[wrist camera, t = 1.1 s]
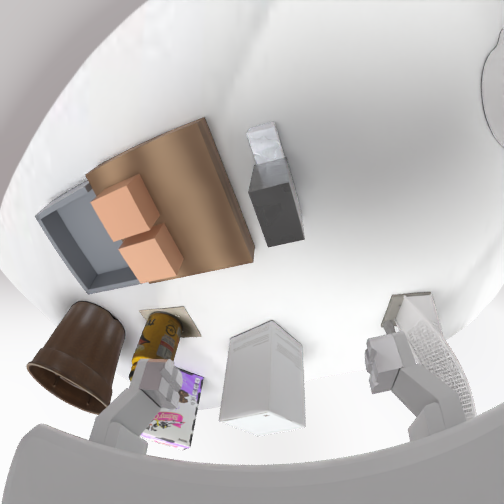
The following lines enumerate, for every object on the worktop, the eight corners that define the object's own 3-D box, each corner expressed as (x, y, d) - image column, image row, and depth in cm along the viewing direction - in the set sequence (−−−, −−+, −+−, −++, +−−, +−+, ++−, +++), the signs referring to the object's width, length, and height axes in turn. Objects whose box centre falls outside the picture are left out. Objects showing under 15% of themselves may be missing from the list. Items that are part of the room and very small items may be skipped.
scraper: (276, 120, 25) (277, 142, 18) (303, 215, 31) (311, 267, 24) (246, 128, 26) (234, 154, 18) (277, 221, 32) (277, 274, 24)
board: (204, 117, 25) (196, 122, 23) (254, 246, 34) (253, 262, 31) (98, 165, 28) (85, 174, 26) (156, 268, 37) (149, 283, 35)
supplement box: (228, 338, 45) (215, 421, 33) (272, 318, 41) (269, 411, 29) (261, 361, 49) (256, 437, 37) (304, 345, 45) (307, 428, 33)
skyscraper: (394, 287, 36) (446, 482, 14) (439, 284, 35) (502, 456, 13) (380, 325, 41) (412, 493, 19) (422, 320, 40) (464, 474, 18)
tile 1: (164, 222, 29) (154, 238, 27) (183, 258, 32) (176, 276, 29) (129, 233, 30) (118, 249, 28) (149, 267, 33) (140, 283, 30)
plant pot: (125, 301, 42) (87, 385, 29) (144, 354, 52) (122, 424, 39) (53, 285, 42) (11, 352, 29) (80, 338, 52) (52, 397, 39)
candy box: (205, 376, 54) (192, 448, 41) (196, 385, 58) (183, 451, 44) (142, 353, 51) (119, 424, 38) (138, 364, 54) (117, 429, 41)
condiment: (139, 310, 43) (114, 371, 33) (183, 305, 41) (163, 374, 32) (159, 337, 47) (141, 395, 37) (201, 335, 45) (187, 398, 36)
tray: (102, 172, 29) (84, 186, 26) (153, 263, 36) (143, 283, 33) (51, 201, 31) (34, 216, 28) (99, 276, 39) (87, 294, 36)
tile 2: (139, 173, 26) (126, 185, 23) (160, 214, 28) (150, 230, 26) (104, 189, 27) (90, 202, 24) (124, 226, 30) (113, 241, 27)
